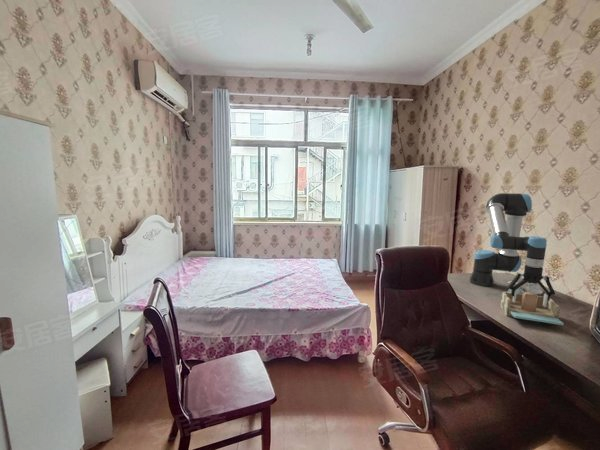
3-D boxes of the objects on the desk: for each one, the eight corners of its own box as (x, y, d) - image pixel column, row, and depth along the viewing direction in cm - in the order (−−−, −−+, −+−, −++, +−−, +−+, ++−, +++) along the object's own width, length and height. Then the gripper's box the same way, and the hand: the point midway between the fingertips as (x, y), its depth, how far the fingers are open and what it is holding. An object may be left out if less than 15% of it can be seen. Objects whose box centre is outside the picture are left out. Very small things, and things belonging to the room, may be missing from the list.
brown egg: (522, 310, 158) (524, 294, 157) (519, 306, 164) (521, 290, 162) (537, 313, 155) (539, 296, 154) (533, 308, 161) (535, 292, 160)
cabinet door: (509, 310, 157) (514, 315, 149) (556, 317, 150) (564, 323, 142) (509, 312, 157) (514, 317, 149) (556, 319, 150) (563, 325, 142)
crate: (500, 306, 171) (502, 291, 170) (547, 312, 163) (549, 297, 161) (506, 316, 158) (508, 300, 157) (557, 324, 150) (560, 307, 149)
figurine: (522, 287, 203) (524, 272, 201) (539, 289, 199) (541, 274, 198) (527, 293, 192) (529, 277, 190) (545, 295, 188) (547, 279, 187)
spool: (530, 302, 168) (522, 285, 172) (511, 306, 173) (503, 289, 176) (529, 300, 179) (521, 284, 183) (511, 304, 184) (503, 288, 187)
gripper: (507, 264, 157) (503, 302, 160) (566, 270, 148) (560, 310, 151) (504, 261, 164) (500, 297, 167) (560, 266, 155) (554, 305, 158)
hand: (528, 304), depth 159 cm, fingers open, 13 cm apart
